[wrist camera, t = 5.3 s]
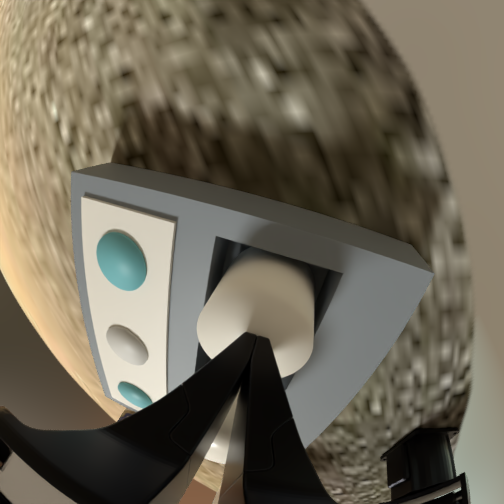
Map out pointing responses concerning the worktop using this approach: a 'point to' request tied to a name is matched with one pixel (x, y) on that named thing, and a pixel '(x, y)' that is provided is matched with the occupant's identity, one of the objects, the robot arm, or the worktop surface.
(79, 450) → the robot arm
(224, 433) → the button
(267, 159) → the worktop surface
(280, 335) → the button
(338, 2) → the worktop surface
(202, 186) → the button board
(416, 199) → the worktop surface
